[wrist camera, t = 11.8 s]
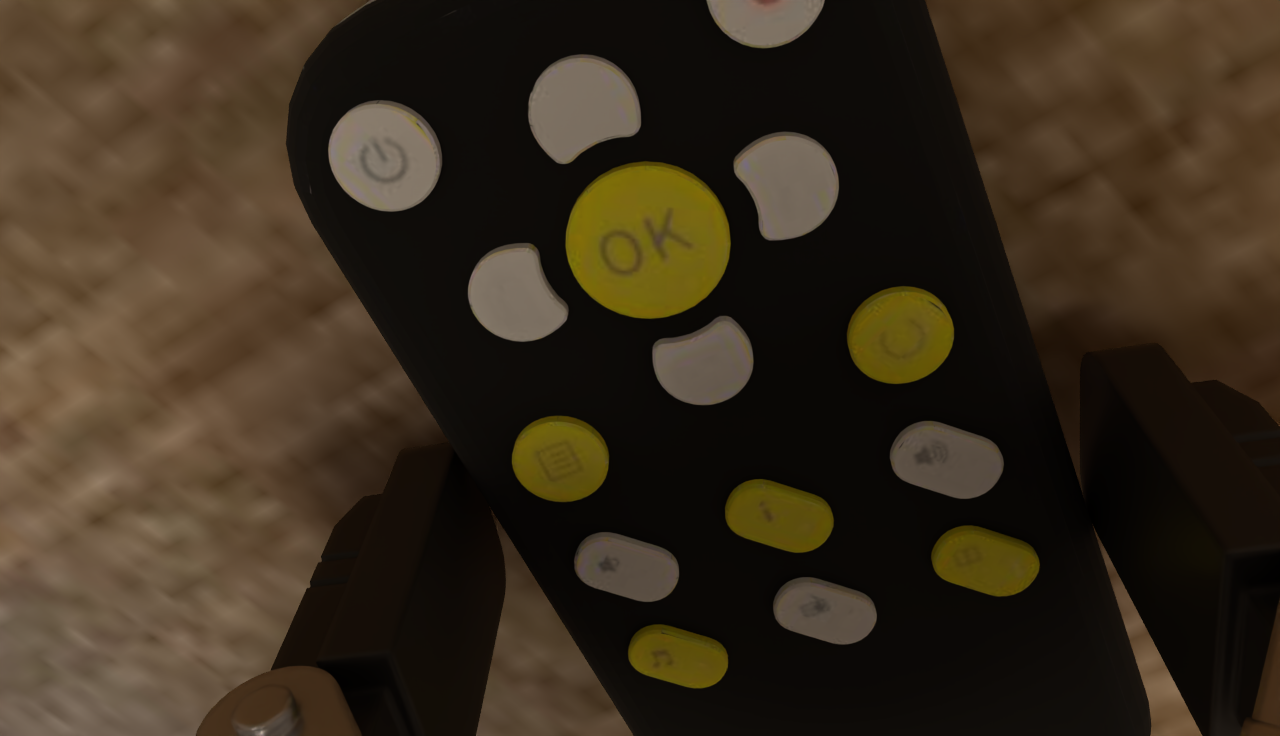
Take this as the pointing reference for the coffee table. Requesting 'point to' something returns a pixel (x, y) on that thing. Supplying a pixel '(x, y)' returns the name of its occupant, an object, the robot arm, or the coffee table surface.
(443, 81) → the remote control
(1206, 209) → the coffee table surface
